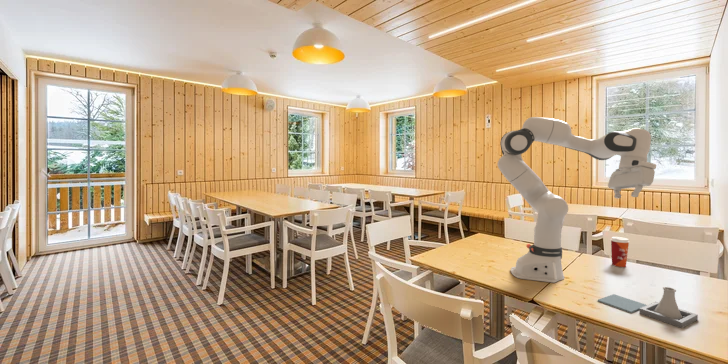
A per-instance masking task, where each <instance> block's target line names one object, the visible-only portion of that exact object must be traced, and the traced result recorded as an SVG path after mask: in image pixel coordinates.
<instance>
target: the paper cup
mask: <svg viewBox="0 0 728 364" xmlns="http://www.w3.org/2000/svg"><path fill="white" fill-rule="evenodd" d="M609 241H610V243H611V245H610V246H611V248H610V249H611V251H610V252H611V264H612V266H614V267H619V268H626V267H627V260H628V255H629V253H628V252H629V245H630V239H629V238H628V237H627V238H626V237H621V236H612V237H611V238H610V240H609Z"/></svg>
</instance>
